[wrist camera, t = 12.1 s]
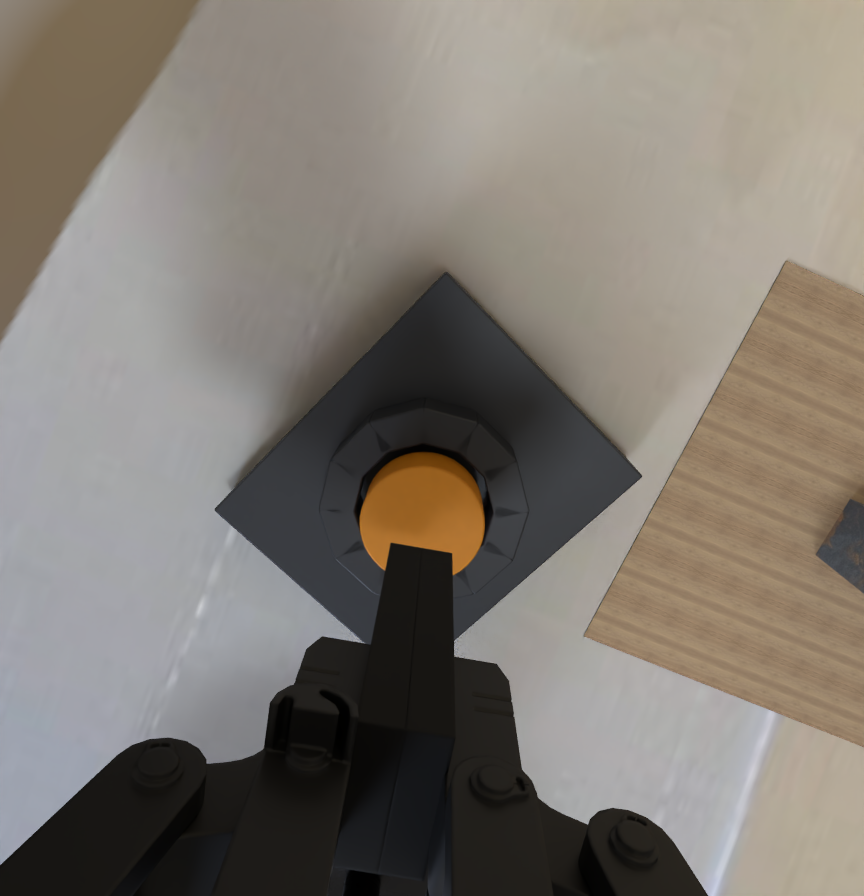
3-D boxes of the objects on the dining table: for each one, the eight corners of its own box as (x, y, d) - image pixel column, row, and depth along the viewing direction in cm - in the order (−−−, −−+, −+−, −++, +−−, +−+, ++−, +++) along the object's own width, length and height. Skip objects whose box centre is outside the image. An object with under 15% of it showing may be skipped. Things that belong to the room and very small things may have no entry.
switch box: (231, 491, 27) (196, 528, 24) (446, 270, 25) (446, 272, 21) (410, 651, 29) (404, 711, 25) (627, 459, 27) (657, 493, 23)
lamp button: (341, 506, 24) (333, 525, 22) (423, 426, 23) (421, 439, 21) (424, 582, 24) (422, 607, 23) (506, 508, 24) (511, 527, 22)
